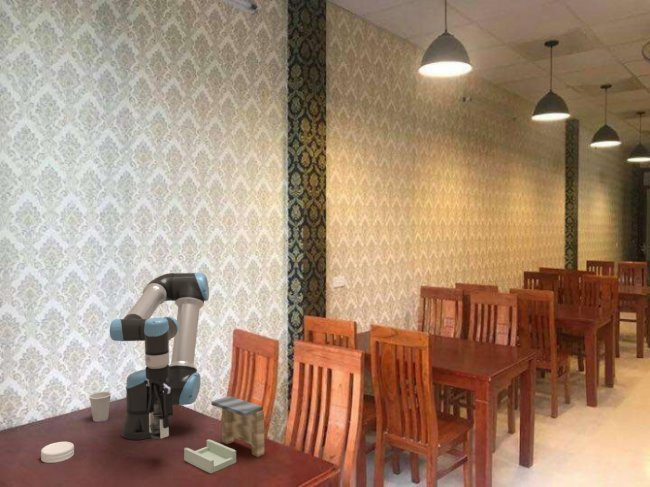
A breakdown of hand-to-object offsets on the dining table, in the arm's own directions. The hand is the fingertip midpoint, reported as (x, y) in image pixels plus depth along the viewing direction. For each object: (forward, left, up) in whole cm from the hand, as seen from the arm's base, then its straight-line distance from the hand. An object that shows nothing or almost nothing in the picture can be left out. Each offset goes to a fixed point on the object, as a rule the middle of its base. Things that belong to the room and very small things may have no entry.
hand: (159, 433), depth 172 cm
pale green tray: (+14, +10, -9) cm, 19 cm away
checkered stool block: (+13, +22, -9) cm, 27 cm away
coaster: (-29, -21, -9) cm, 37 cm away
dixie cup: (-53, +5, -9) cm, 54 cm away
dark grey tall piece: (0, 0, -1) cm, 1 cm away
